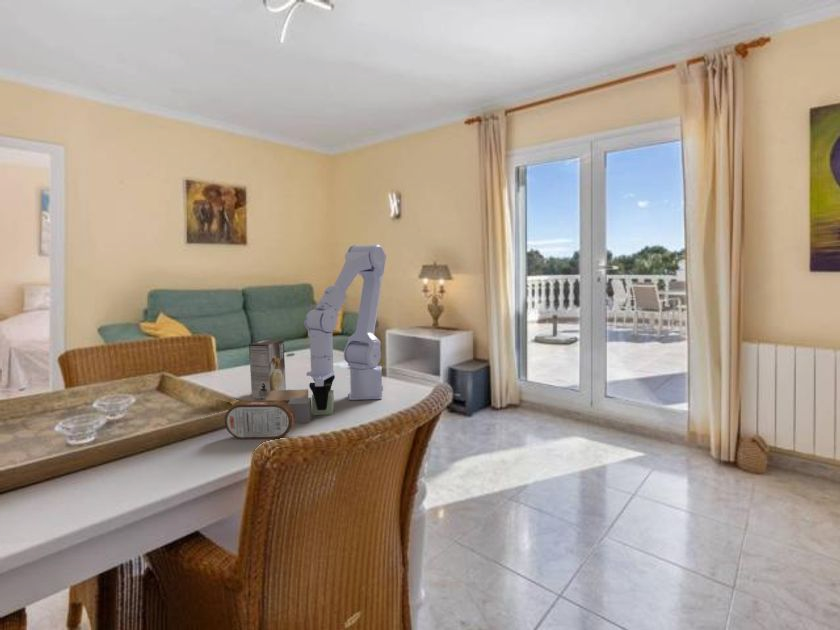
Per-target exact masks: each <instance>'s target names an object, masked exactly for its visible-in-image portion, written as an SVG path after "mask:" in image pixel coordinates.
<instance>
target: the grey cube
mask: <svg viewBox="0 0 840 630" xmlns="http://www.w3.org/2000/svg"><path fill="white" fill-rule="evenodd" d="M288 405H289V406H290V407H291V408H292V410H293V412H294V415H295V422H294V424H309V423H310V422H311V420H312V417H313V415H312V397H308V398H291V399H290V401H289V402H288Z"/></svg>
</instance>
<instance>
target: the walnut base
mask: <svg viewBox="0 0 840 630" xmlns="http://www.w3.org/2000/svg"><path fill="white" fill-rule="evenodd" d="M291 398H309V389H308V388H306V389H286V390H276V391H271V392H270V393H269V395H268V396H267V398H266V399H264V400H279V401H283V402H285V403H287V404H288V402H289V401H290V399H291Z"/></svg>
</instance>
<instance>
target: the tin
mask: <svg viewBox="0 0 840 630" xmlns="http://www.w3.org/2000/svg"><path fill="white" fill-rule="evenodd" d="M294 422H295V415H294V412H293V410H292V408H291V407H290V406H289V405H288V404H287V403H285V402H283V401H279V400H265V399H264V400H263V399H260V400H259V399H255V400H253V399H252V400H251V399H250V400H249V399H245V400H244V399H242V400H237V401H236V402H234V403H233V404H232V405H231V406H230V407H229V409H228V410H227V411H226V413H225V415H224V426H225V429H226V431H228V433H229V434H230V435H231V436H232V437H234V438H237V439H240V440H257V439H258V440H259V439H262V440H265V439H267V440H270V439H271V440H272V439H273V440H274V439H276V438H277V439H281V438H284V437H285V436H286V435H287V434H288V433H290V430H292V428H293V427H294Z"/></svg>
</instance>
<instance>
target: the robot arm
mask: <svg viewBox="0 0 840 630" xmlns="http://www.w3.org/2000/svg"><path fill="white" fill-rule="evenodd" d="M344 259H345V262H344V264H343V266H342V268H341V271H340V272H339V274H338V277H337V278H336V280H335V282H334V284H333V285H329V286H328V287H326V288H325V289H324V293H323V294H322V296H321V298H320V300H319V301H318V303H317V304H316V305H315V308H313V309H312V310H310V311H309V312H307V314H306V316H305V320H303V323H304V327H305V328H306V330H307V336H308V337H309V347H310V349H309V350H310V351H309V352H310V371H306V373H305V374H306V376H308V377H311V378H312V380H313V382H310V383H309V384H308V386H309V389H310V391H311V392H312V395H314V397H315V401H316V406H317V409H318V410H326V408H327V402H328V395H329V390H332V386H333V382H334V381H335V377H336V376H335V375H336V374H335V370H334V348H333V347H334V344H333V341H334V340H333V338H334V337H333V331H334V330H335V329H336V328H337V326H338V317H339V311H340V310H341V308H342V307H343V305H344V304H345V302H346V300H347V290H348V289H349V287H350V286H351V284H352V283H353V282H354V280H355V278H356V277H357V275H359V276H361V278H362V279H363V283H362V290H361V294H360V295H361V296H360V301H359V302H360V303H359V307H358V314H357V315H358V316H357V320H356V321H357V322H356V327H355V332H354V333H353V334H351V335H350V336H348V338H347V343H346V345H345V347H344V350H343V359H344V361H345V362H346V363H347V366H348V367H349V371H350V372H349V373H350V374H349V375H350V376H349V377H350V378H349V379H350V381H349V384H350V391H349V394H348V400H349V401H357V400H360V401H361V400H362V401H363V400H382V399H383V391H384V385H383V380H382V379H383V375H382V373H383V372H382V369H383V367H382V366H381V365H378V364H379V362H380V361H381V357H382V352H381V343H382V342H381V341H380V339H379V338H378V337H377V336H376V335H375V329H376V321H377V319H378V317H377V315H378V311H379V303H380V296H381V291H382V289H381V288H382V285H383V284H382V282H383V275H384V273H385V266H386V259H387V254H386V253H385V251H384V248H383V246H381V245H380V244H378V243H376V244H373V245H372V244H365V245H355V244H352V245H350V246H349V248H348V249H347V251H346V253H345V254H344Z"/></svg>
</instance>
